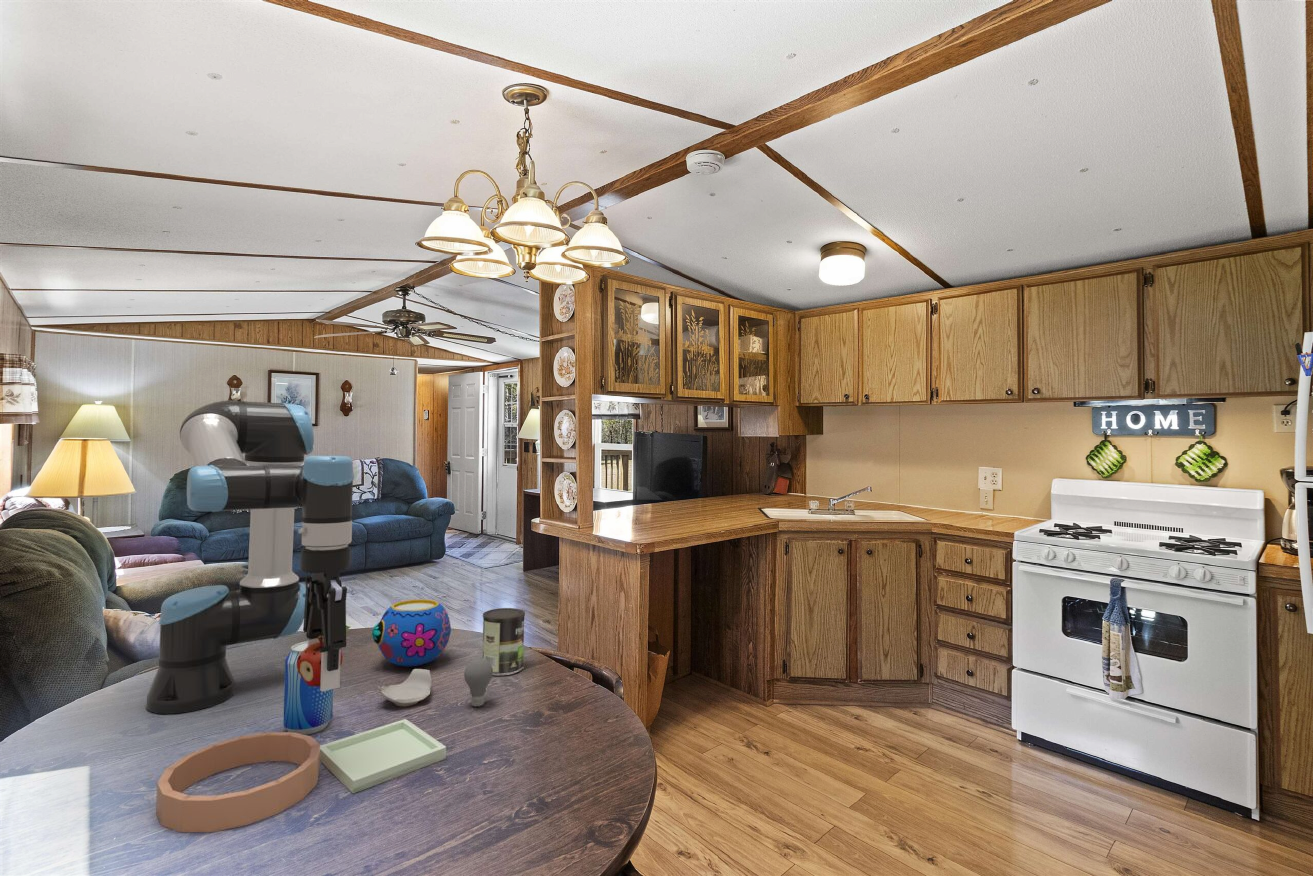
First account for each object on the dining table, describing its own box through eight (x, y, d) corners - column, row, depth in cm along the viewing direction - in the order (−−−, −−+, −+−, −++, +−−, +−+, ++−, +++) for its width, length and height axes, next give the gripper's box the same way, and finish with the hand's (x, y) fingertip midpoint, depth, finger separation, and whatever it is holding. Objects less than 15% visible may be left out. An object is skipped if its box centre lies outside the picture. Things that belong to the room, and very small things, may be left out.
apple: (300, 696, 100) (302, 633, 100) (292, 683, 105) (294, 624, 105) (352, 685, 105) (353, 625, 105) (342, 673, 110) (343, 616, 110)
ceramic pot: (388, 652, 166) (389, 596, 166) (456, 651, 168) (457, 596, 168) (364, 676, 148) (366, 613, 149) (441, 675, 150) (442, 613, 150)
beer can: (310, 739, 117) (313, 654, 117) (272, 734, 118) (275, 650, 119) (341, 720, 125) (344, 640, 125) (305, 715, 127) (308, 637, 127)
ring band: (146, 790, 99) (147, 762, 99) (294, 745, 114) (294, 721, 114) (173, 852, 84) (174, 819, 84) (338, 791, 100) (339, 763, 100)
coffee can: (527, 662, 160) (529, 608, 161) (518, 677, 150) (519, 619, 150) (488, 661, 161) (489, 607, 161) (475, 676, 150) (477, 618, 150)
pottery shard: (375, 713, 129) (376, 689, 129) (382, 693, 139) (383, 671, 139) (428, 708, 132) (429, 684, 132) (431, 688, 142) (432, 667, 142)
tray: (317, 758, 110) (317, 746, 110) (405, 729, 122) (405, 719, 122) (353, 793, 99) (353, 781, 99) (446, 758, 111) (446, 747, 111)
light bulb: (476, 714, 129) (477, 665, 129) (457, 707, 132) (458, 660, 133) (498, 704, 134) (499, 658, 134) (478, 697, 138) (480, 652, 138)
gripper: (285, 541, 110) (281, 672, 109) (321, 556, 96) (316, 706, 95) (330, 537, 115) (327, 662, 115) (371, 551, 101) (367, 693, 101)
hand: (322, 682), depth 105 cm, fingers closed on apple, 7 cm apart
